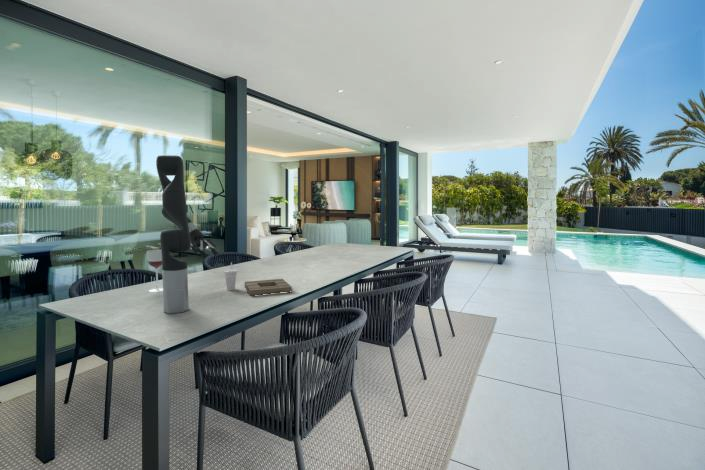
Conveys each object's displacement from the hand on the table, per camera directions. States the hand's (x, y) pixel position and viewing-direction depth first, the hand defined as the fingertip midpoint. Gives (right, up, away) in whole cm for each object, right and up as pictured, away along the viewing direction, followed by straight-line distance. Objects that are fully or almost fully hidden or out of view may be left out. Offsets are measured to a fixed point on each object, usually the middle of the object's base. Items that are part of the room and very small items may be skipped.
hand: (211, 256), depth 183 cm
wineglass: (-26, -17, -4) cm, 31 cm away
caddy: (+29, -17, -2) cm, 34 cm away
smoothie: (+10, -17, -1) cm, 20 cm away
